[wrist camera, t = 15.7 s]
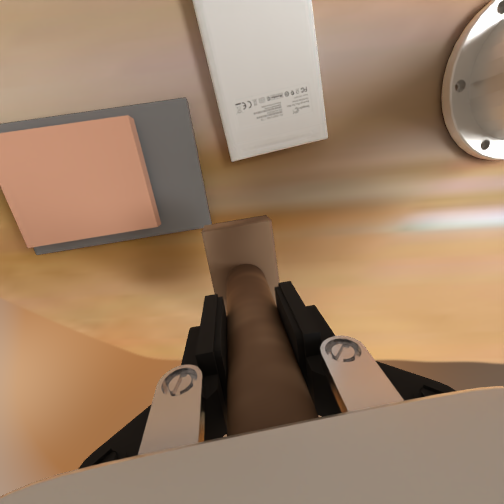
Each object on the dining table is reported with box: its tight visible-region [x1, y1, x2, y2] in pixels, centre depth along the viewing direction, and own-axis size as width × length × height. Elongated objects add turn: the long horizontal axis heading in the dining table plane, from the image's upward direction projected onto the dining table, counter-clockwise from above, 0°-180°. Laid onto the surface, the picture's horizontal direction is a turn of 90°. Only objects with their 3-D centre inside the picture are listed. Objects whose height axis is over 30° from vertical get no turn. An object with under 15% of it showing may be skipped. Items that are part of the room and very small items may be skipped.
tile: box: [0, 115, 161, 248], centre depth 19 cm, size 1×8×10 cm
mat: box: [0, 98, 212, 255], centre depth 21 cm, size 15×10×1 cm, turn 99°
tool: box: [202, 215, 319, 436], centre depth 11 cm, size 4×7×14 cm, turn 9°
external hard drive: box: [192, 0, 328, 162], centre depth 19 cm, size 2×8×12 cm
